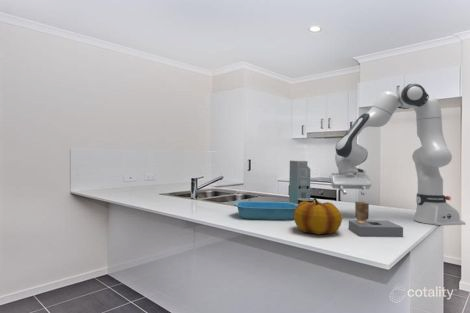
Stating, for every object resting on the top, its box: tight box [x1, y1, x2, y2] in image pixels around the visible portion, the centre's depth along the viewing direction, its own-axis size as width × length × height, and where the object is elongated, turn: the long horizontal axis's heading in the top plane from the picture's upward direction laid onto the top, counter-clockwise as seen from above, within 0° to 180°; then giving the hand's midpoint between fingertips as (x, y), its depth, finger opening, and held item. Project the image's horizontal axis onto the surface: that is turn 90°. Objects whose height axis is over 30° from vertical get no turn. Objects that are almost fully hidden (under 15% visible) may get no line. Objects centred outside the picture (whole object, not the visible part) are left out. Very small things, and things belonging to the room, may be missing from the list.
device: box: [288, 160, 311, 204], centre depth 186 cm, size 16×8×30 cm, turn 6°
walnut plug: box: [354, 201, 370, 220], centre depth 150 cm, size 4×6×11 cm, turn 0°
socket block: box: [348, 219, 404, 238], centre depth 136 cm, size 18×13×5 cm
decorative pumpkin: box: [293, 197, 343, 236], centre depth 137 cm, size 20×22×15 cm
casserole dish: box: [232, 200, 298, 221], centre depth 168 cm, size 37×22×7 cm, turn 89°
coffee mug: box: [298, 198, 315, 204], centre depth 166 cm, size 12×9×10 cm
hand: (354, 194), depth 159 cm, fingers open, 8 cm apart
